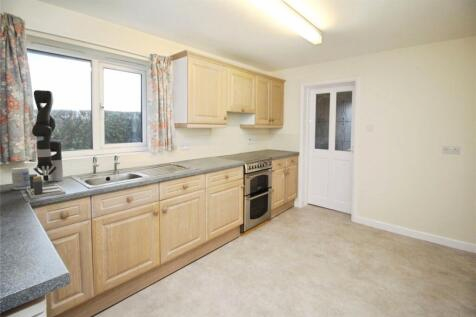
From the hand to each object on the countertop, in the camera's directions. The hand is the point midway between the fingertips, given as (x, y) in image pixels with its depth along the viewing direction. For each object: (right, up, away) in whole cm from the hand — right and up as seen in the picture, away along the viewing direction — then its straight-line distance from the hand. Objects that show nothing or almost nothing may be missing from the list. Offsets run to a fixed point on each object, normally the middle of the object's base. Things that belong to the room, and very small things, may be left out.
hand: (46, 180), depth 175 cm
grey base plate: (-1, -8, 0) cm, 8 cm away
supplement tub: (-24, -6, +9) cm, 26 cm away
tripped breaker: (-3, -6, -2) cm, 7 cm away
